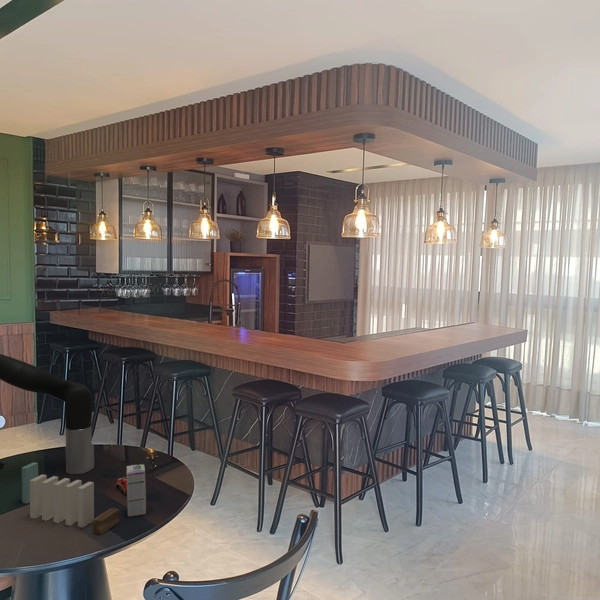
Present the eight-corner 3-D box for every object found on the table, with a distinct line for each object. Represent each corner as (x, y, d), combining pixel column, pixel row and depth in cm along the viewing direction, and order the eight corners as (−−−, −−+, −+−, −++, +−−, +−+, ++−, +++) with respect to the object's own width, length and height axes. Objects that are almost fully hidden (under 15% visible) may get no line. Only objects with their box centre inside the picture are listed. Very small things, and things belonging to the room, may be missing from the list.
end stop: (93, 532, 149) (93, 519, 149) (110, 520, 157) (110, 507, 157) (101, 534, 148) (101, 521, 148) (119, 521, 156) (118, 509, 156)
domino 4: (53, 522, 155) (53, 484, 155) (65, 515, 160) (65, 477, 159) (58, 523, 155) (57, 484, 154) (70, 515, 159) (69, 478, 159)
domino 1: (22, 502, 168) (21, 467, 168) (34, 496, 173) (33, 462, 172) (26, 503, 168) (26, 468, 167) (38, 497, 172) (37, 462, 172)
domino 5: (65, 524, 154) (65, 486, 153) (77, 517, 159) (76, 479, 158) (70, 525, 153) (70, 486, 153) (82, 518, 158) (81, 480, 158)
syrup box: (146, 514, 161) (146, 469, 160) (126, 517, 159) (126, 472, 158) (145, 506, 166) (145, 463, 166) (126, 509, 164) (126, 465, 164)
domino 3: (41, 520, 157) (41, 482, 156) (54, 513, 161) (53, 476, 161) (46, 521, 156) (46, 483, 155) (58, 513, 161) (58, 476, 160)
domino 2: (30, 518, 158) (29, 480, 157) (42, 510, 163) (42, 474, 162) (34, 518, 157) (34, 481, 157) (47, 511, 162) (46, 475, 162)
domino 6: (77, 526, 153) (77, 488, 152) (89, 519, 157) (88, 481, 157) (82, 527, 152) (82, 488, 152) (94, 520, 157) (93, 482, 156)
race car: (143, 495, 175) (143, 484, 175) (128, 500, 172) (128, 488, 172) (129, 483, 186) (129, 472, 185) (114, 487, 182) (114, 476, 182)
